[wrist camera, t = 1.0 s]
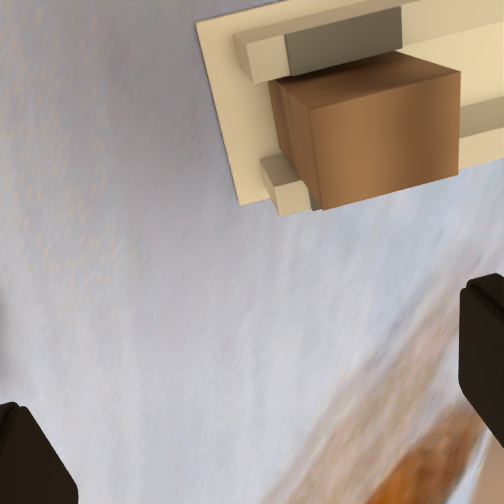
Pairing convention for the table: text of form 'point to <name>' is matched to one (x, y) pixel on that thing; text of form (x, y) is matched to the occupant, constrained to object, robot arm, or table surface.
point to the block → (369, 126)
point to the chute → (338, 52)
